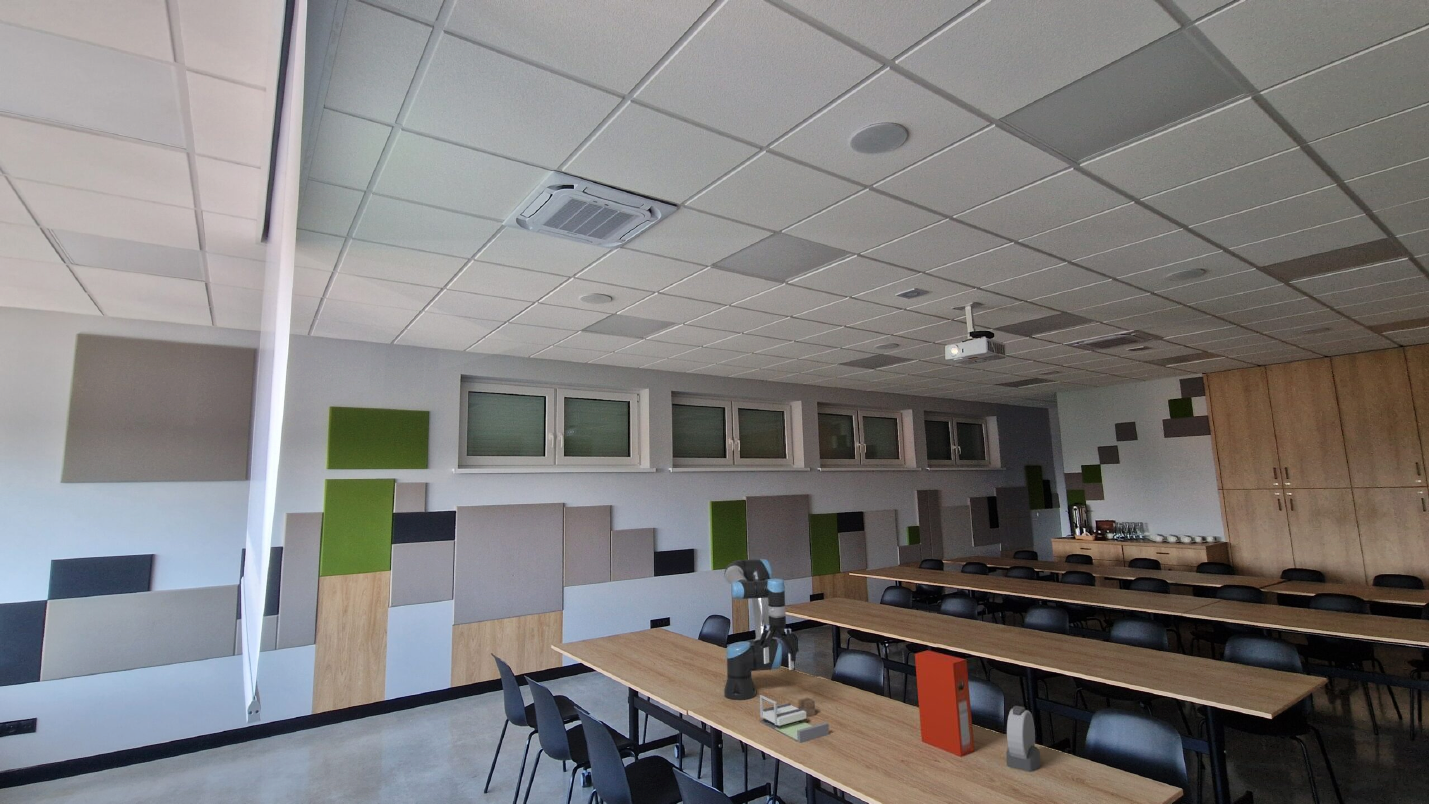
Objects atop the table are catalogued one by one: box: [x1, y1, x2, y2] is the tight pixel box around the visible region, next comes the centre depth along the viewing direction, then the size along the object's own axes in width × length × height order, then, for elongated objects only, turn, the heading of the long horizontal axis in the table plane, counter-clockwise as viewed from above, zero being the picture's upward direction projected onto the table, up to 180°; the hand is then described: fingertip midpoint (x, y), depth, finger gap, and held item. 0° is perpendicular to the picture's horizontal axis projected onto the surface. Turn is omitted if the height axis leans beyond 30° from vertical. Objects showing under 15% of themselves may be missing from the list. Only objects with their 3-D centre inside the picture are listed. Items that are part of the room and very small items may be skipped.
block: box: [797, 697, 816, 719], centre depth 269 cm, size 5×5×6 cm
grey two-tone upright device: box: [1005, 705, 1042, 773], centre depth 217 cm, size 16×10×18 cm, turn 141°
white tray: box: [759, 694, 807, 728], centre depth 260 cm, size 13×15×10 cm
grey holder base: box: [758, 718, 830, 744], centre depth 254 cm, size 28×14×4 cm, turn 31°
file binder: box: [914, 649, 975, 758], centre depth 234 cm, size 8×17×32 cm, turn 32°
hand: (779, 665), depth 272 cm, fingers open, 13 cm apart
